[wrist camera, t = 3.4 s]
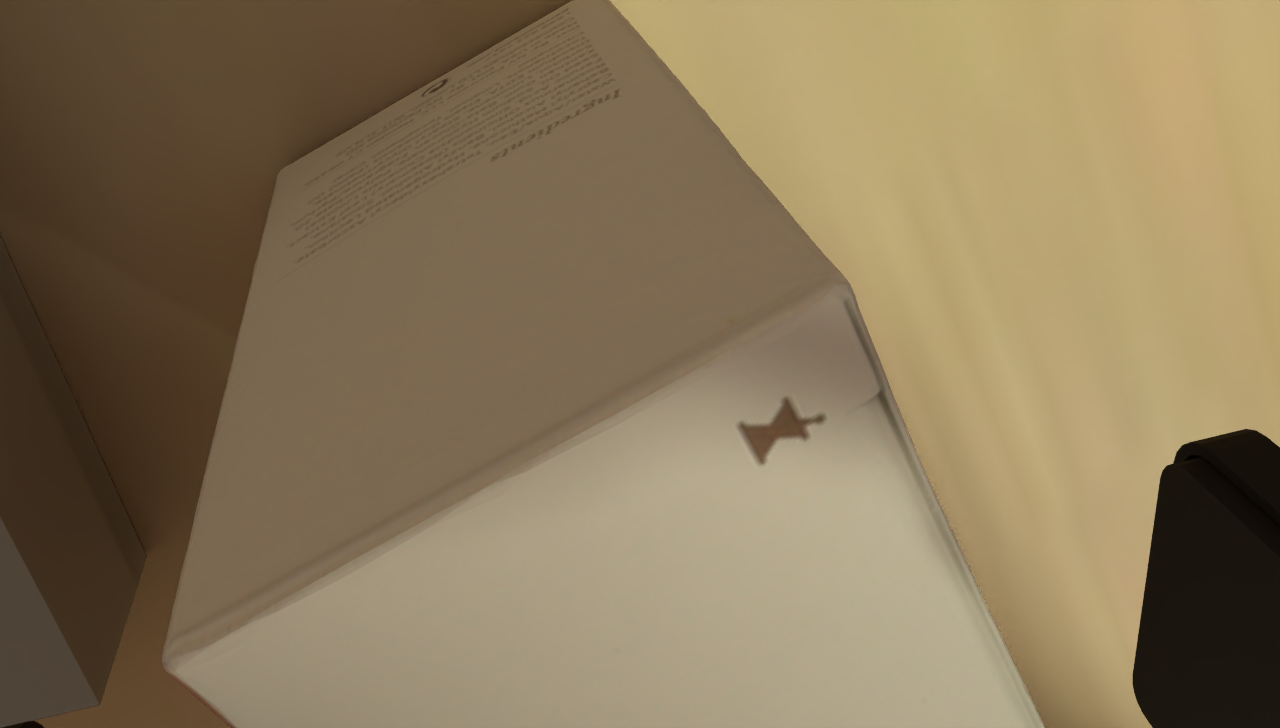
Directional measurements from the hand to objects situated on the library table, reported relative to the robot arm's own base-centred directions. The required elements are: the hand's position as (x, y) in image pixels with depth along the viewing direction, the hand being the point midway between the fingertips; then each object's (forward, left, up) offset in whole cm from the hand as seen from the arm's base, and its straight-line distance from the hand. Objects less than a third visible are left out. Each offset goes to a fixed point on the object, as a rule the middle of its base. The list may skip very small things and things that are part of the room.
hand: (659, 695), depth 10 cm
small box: (0, +1, -10) cm, 10 cm away
